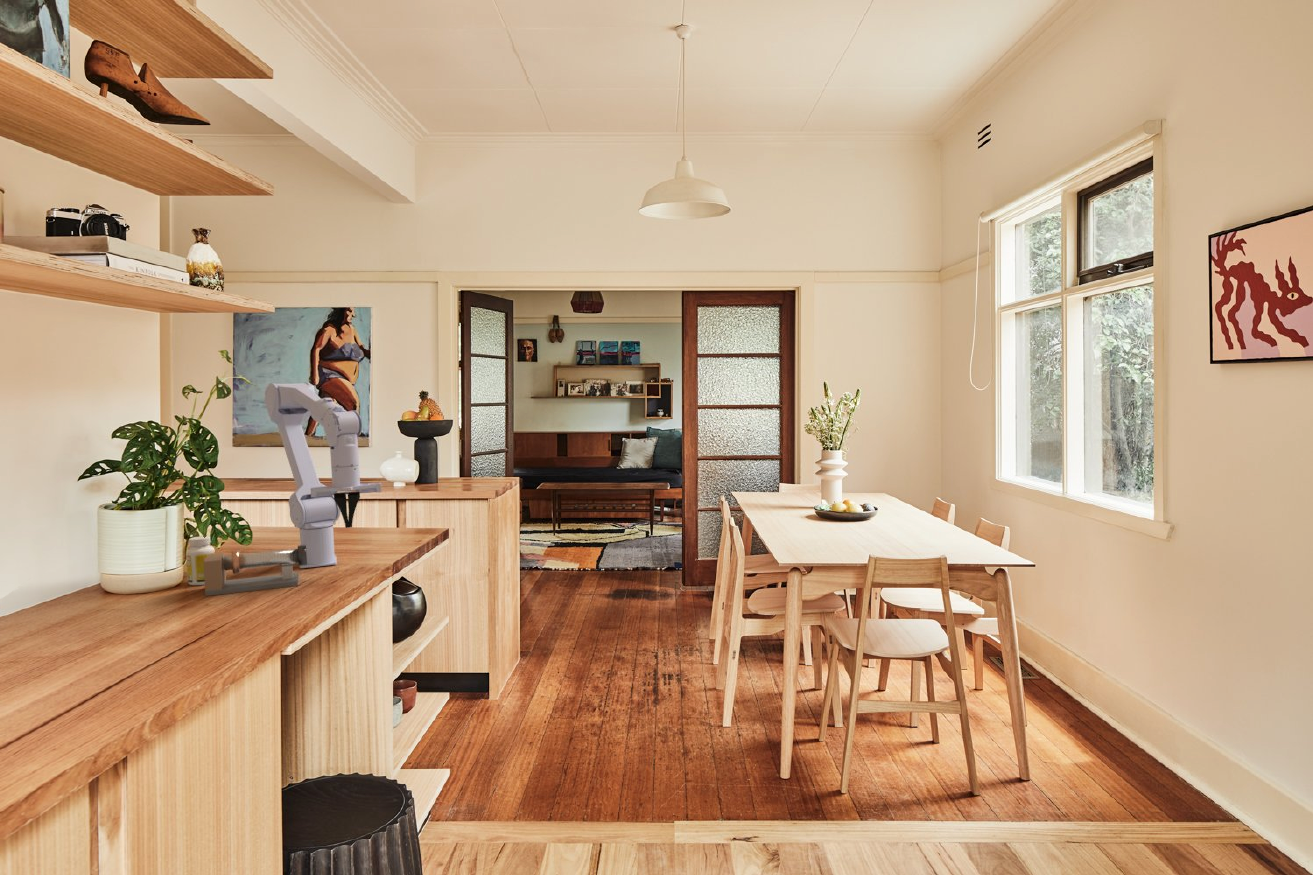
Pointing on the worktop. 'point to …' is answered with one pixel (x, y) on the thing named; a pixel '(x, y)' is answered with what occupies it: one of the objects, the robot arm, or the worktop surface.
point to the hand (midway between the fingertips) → (348, 526)
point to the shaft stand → (220, 585)
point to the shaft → (264, 559)
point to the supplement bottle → (197, 559)
